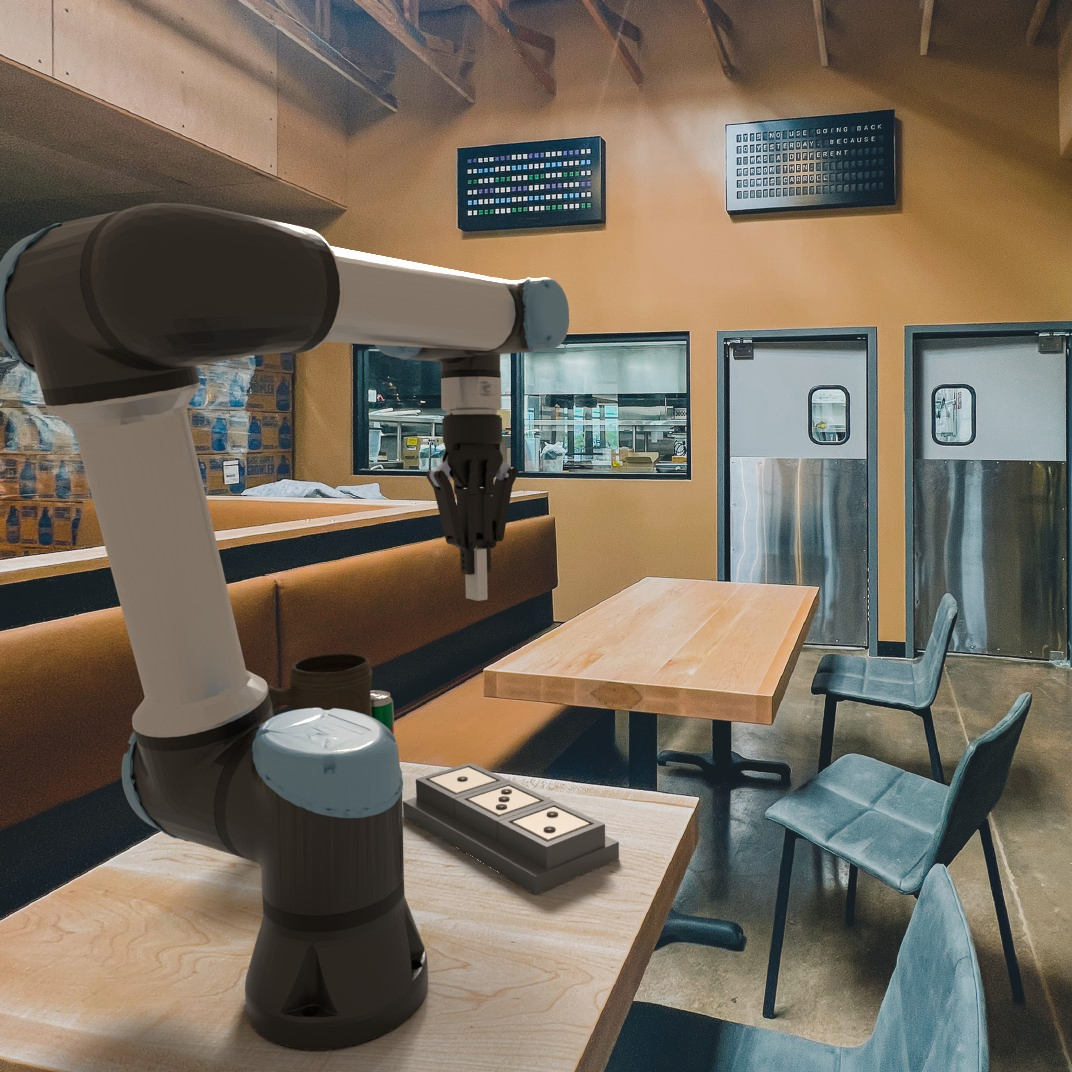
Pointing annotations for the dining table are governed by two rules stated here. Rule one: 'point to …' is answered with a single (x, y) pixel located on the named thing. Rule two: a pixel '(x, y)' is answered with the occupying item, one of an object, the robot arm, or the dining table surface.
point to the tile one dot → (462, 780)
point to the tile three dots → (503, 801)
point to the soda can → (383, 708)
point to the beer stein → (328, 684)
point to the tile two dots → (550, 824)
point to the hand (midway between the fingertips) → (476, 598)
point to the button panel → (509, 834)
